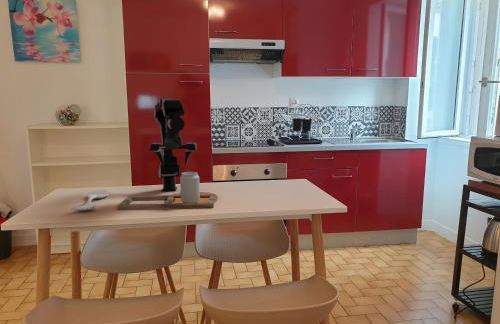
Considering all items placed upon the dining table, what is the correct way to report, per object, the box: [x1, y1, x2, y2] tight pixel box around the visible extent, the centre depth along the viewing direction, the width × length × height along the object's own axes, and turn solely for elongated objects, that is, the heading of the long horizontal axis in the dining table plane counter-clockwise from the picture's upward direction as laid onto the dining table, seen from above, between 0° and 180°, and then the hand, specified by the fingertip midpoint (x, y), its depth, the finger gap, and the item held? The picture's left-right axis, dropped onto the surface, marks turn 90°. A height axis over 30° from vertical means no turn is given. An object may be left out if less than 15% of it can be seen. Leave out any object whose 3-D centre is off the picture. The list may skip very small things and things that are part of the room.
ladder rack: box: [116, 193, 216, 211], centre depth 155 cm, size 16×36×2 cm, turn 92°
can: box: [179, 171, 201, 203], centre depth 155 cm, size 8×8×12 cm
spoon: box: [70, 189, 110, 212], centre depth 156 cm, size 9×32×4 cm, turn 10°
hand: (174, 167), depth 163 cm, fingers open, 9 cm apart
